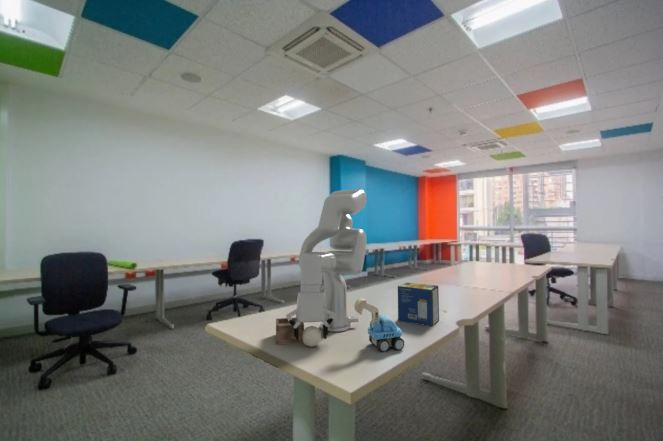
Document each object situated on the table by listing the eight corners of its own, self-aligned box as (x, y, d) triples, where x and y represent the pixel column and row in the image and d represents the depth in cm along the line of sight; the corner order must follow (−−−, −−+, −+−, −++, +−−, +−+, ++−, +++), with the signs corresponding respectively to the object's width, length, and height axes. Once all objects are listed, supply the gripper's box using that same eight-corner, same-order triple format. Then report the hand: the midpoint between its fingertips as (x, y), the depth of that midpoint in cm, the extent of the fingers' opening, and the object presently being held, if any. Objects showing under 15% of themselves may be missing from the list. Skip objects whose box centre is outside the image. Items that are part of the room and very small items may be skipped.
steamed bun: (321, 341, 111) (321, 323, 112) (321, 349, 104) (321, 329, 104) (302, 341, 111) (302, 323, 111) (301, 349, 104) (301, 329, 104)
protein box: (406, 315, 145) (406, 282, 146) (439, 320, 136) (438, 285, 137) (397, 320, 137) (396, 285, 137) (432, 326, 128) (431, 289, 128)
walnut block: (301, 333, 121) (301, 317, 121) (304, 342, 111) (304, 324, 111) (276, 335, 119) (276, 318, 119) (276, 344, 109) (276, 326, 109)
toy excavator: (351, 345, 107) (350, 296, 108) (394, 340, 112) (393, 293, 112) (360, 355, 99) (359, 302, 99) (406, 349, 103) (405, 298, 104)
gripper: (333, 286, 113) (333, 333, 112) (286, 287, 110) (285, 336, 109) (337, 289, 106) (337, 340, 105) (286, 291, 103) (286, 343, 102)
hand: (310, 338), depth 107 cm, fingers open, 9 cm apart
